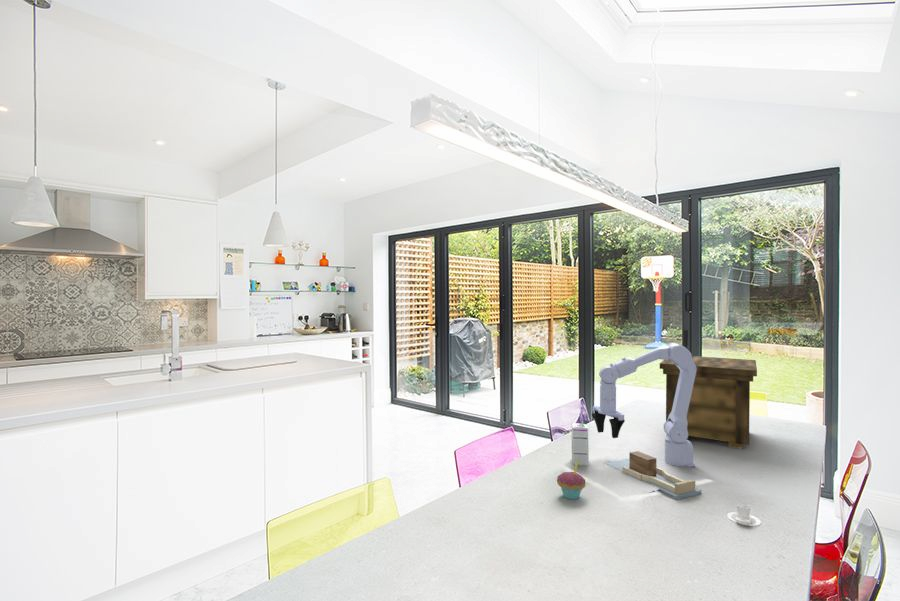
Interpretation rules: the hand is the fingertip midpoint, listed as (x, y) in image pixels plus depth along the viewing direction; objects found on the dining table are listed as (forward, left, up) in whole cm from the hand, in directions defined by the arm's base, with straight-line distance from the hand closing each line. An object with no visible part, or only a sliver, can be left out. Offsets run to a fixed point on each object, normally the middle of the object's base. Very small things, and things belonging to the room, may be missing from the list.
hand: (607, 434), depth 175 cm
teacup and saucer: (+1, +50, -10) cm, 51 cm away
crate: (-63, -6, -10) cm, 64 cm away
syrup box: (+13, 0, -10) cm, 16 cm away
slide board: (0, +19, -9) cm, 21 cm away
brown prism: (0, +17, -8) cm, 19 cm away
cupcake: (+33, +20, -10) cm, 40 cm away
